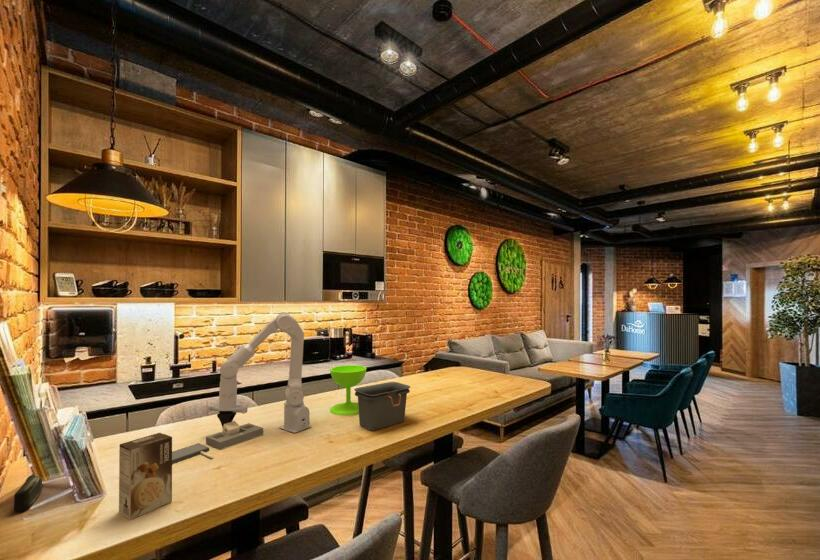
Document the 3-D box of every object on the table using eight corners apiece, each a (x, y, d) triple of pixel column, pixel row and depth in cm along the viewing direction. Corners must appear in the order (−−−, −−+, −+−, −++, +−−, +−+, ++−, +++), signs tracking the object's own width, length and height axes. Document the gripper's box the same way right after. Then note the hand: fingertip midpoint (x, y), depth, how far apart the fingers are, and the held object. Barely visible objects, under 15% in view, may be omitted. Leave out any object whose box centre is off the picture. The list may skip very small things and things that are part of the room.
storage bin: (392, 413, 160) (392, 380, 160) (417, 423, 148) (417, 386, 148) (350, 425, 145) (350, 388, 146) (374, 437, 134) (374, 396, 134)
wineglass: (350, 417, 155) (350, 374, 155) (322, 411, 163) (322, 370, 164) (373, 407, 168) (373, 367, 169) (346, 402, 177) (346, 364, 177)
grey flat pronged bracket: (220, 456, 118) (220, 452, 118) (176, 472, 108) (176, 468, 108) (198, 446, 126) (198, 442, 126) (155, 460, 115) (155, 456, 115)
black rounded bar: (10, 515, 87) (33, 488, 100) (28, 511, 88) (49, 485, 101) (11, 493, 87) (34, 469, 100) (29, 489, 89) (49, 466, 101)
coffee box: (159, 494, 96) (161, 431, 96) (172, 501, 92) (173, 436, 93) (117, 512, 88) (118, 443, 89) (129, 521, 85) (131, 449, 85)
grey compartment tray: (263, 434, 136) (263, 427, 137) (220, 449, 123) (220, 442, 123) (248, 429, 141) (248, 422, 142) (205, 443, 128) (206, 436, 128)
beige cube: (237, 437, 134) (240, 426, 133) (226, 441, 131) (229, 430, 130) (232, 431, 136) (234, 420, 136) (221, 435, 133) (223, 424, 132)
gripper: (252, 392, 138) (251, 429, 138) (216, 390, 140) (215, 426, 140) (241, 397, 131) (240, 436, 131) (204, 395, 133) (202, 433, 133)
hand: (226, 432), depth 135 cm, fingers closed, pressing on beige cube
